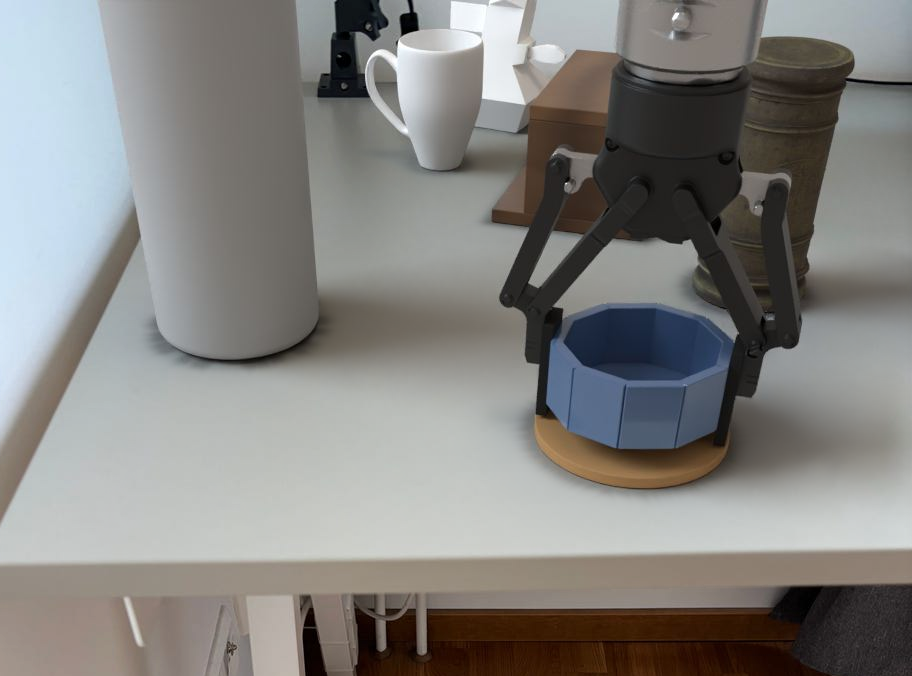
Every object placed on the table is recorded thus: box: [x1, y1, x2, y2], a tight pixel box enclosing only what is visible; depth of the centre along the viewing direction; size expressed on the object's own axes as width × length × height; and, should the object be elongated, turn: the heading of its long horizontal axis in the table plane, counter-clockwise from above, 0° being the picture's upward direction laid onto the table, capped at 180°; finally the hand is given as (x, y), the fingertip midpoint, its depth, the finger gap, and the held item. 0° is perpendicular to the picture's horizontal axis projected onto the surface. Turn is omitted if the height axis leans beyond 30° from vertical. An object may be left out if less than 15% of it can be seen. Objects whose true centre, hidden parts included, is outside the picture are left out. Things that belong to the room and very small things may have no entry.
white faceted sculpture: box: [449, 0, 568, 134], centre depth 117 cm, size 8×14×14 cm, turn 64°
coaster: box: [533, 409, 731, 489], centre depth 73 cm, size 13×13×1 cm
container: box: [691, 35, 856, 313], centre depth 84 cm, size 9×9×18 cm
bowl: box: [546, 302, 735, 449], centre depth 71 cm, size 11×12×5 cm
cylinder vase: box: [97, 0, 320, 361], centre depth 77 cm, size 12×12×25 cm
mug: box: [364, 28, 484, 171], centre depth 108 cm, size 12×8×11 cm
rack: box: [491, 48, 643, 242], centre depth 102 cm, size 14×18×10 cm
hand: (631, 420), depth 73 cm, fingers closed on bowl, 11 cm apart
